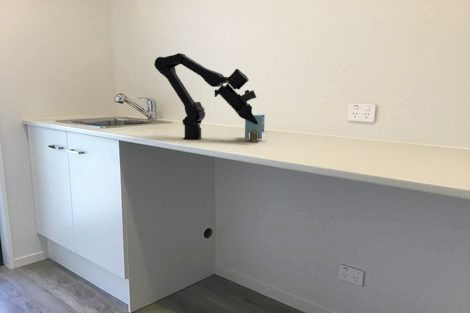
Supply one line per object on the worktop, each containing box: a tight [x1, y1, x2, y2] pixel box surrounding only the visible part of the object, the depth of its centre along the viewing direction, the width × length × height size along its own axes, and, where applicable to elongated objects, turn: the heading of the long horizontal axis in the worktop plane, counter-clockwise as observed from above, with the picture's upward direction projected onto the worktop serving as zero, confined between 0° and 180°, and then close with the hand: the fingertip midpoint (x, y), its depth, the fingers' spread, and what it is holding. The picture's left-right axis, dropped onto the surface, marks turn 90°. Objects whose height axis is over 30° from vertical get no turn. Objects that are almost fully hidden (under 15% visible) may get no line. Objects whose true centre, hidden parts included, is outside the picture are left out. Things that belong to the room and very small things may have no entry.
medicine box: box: [261, 114, 266, 133], centre depth 190 cm, size 8×4×9 cm, turn 143°
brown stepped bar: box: [249, 130, 258, 144], centre depth 160 cm, size 12×2×5 cm, turn 3°
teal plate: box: [244, 114, 263, 140], centre depth 160 cm, size 7×3×10 cm, turn 93°
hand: (256, 123), depth 160 cm, fingers closed on teal plate, 3 cm apart
